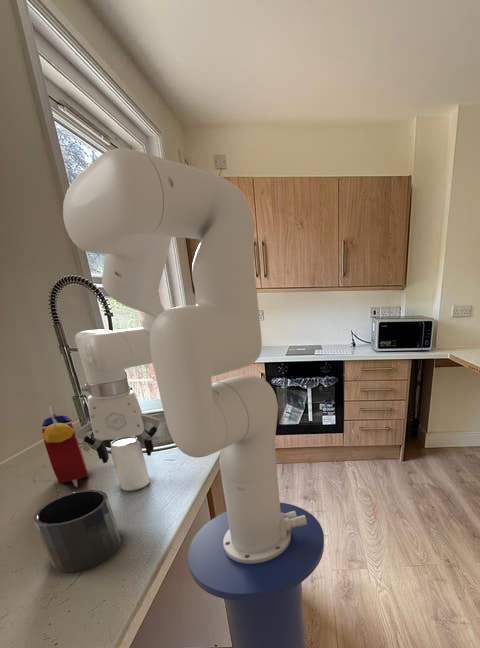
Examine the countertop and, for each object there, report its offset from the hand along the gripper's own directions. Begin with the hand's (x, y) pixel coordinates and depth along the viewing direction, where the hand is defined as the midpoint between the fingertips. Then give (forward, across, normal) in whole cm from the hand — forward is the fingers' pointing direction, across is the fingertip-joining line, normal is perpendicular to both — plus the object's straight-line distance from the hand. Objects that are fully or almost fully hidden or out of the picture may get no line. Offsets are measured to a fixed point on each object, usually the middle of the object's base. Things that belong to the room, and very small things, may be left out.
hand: (128, 456), depth 84 cm
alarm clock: (+8, -14, +10) cm, 19 cm away
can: (+8, 0, 0) cm, 8 cm away
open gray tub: (+8, -6, -23) cm, 25 cm away
